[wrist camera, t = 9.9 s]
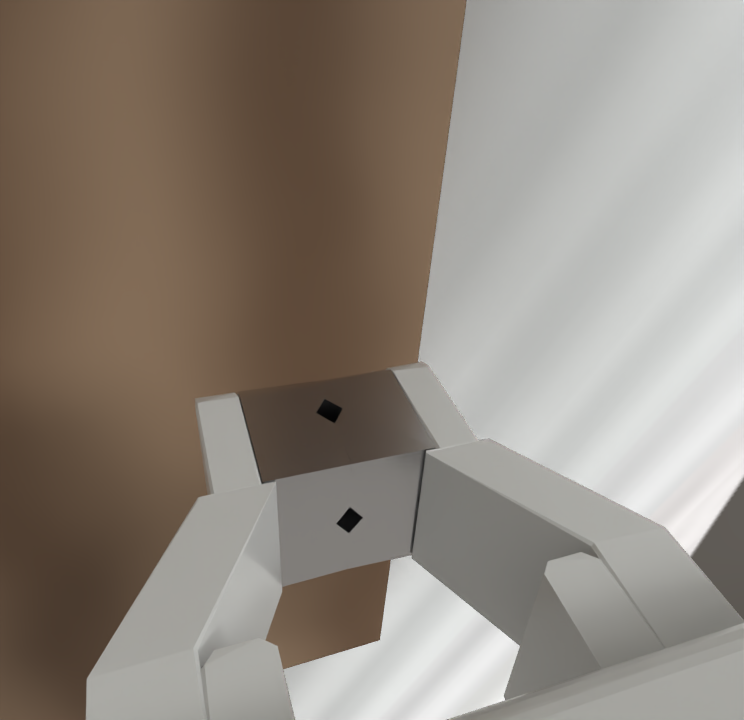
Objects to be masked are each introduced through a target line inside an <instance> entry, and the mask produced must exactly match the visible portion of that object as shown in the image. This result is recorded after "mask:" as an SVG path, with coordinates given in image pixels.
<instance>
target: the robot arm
mask: <svg viewBox="0 0 744 720" xmlns="http://www.w3.org/2000/svg"><path fill="white" fill-rule="evenodd" d="M195 410H196V417H197V424H198V431H199V438H200V445H201V452H202V459H203V466H204V473H205V480H206V487H207V495H206V496H201V497H198V498H197V500H196V501H195V503H194V504H193V506H192V508H191V509H190V511H189V513H188V514H187V516H186V518H185V519H184V521H183V522H182V524H181V526H180V527H179V529H178V531H177V532H176V534H175V536H174V537H173V539H172V540H171V542H170V544H169V545H168V547H167V549H166V550H165V552H164V553H163V555H162V557H161V558H160V560H159V562H158V563H157V565H156V567H155V568H154V570H153V571H152V573H151V575H150V576H149V578H148V580H147V581H146V583H145V585H144V586H143V588H142V589H141V591H140V593H139V594H138V596H137V598H136V599H135V601H134V602H133V604H132V606H131V607H130V609H129V611H128V612H127V614H126V616H125V617H124V619H123V620H122V622H121V624H120V625H119V627H118V629H117V630H116V632H115V634H114V635H113V637H112V638H111V640H110V642H109V643H108V645H107V647H106V648H105V650H104V652H103V653H102V655H101V656H100V658H99V660H98V661H97V663H96V665H95V666H94V668H93V669H92V671H91V673H90V674H89V676H88V678H87V687H86V720H295V717H294V712H293V708H292V704H291V700H290V696H289V692H288V688H287V683H286V679H285V675H284V671H283V667H282V663H281V658H280V654H279V650H278V646H276V645H274V644H272V643H270V642H268V641H265V640H266V637H267V634H268V631H269V628H270V625H271V622H272V620H273V617H274V614H275V611H276V608H277V605H278V602H279V599H280V596H281V594H282V587H284V586H287V585H291V584H295V583H298V582H302V581H305V580H309V579H313V578H316V577H320V576H324V575H327V574H331V573H335V572H338V571H342V570H345V569H350V568H354V567H359V566H363V565H368V564H373V563H377V562H382V561H386V560H391V559H396V558H400V557H405V556H409V555H412V559H413V560H415V561H416V562H417V563H418V564H419V565H421V566H422V567H423V568H424V569H426V570H427V571H428V572H429V573H431V574H432V575H433V576H434V577H436V578H437V579H438V580H439V581H441V582H442V583H443V584H444V585H445V586H447V587H448V588H449V589H450V590H452V591H453V592H454V593H455V594H457V595H458V596H459V597H460V598H462V599H463V600H464V601H465V602H466V603H468V604H469V605H470V606H471V607H473V608H474V609H475V610H476V611H478V612H479V613H480V614H481V615H483V616H484V617H485V618H486V619H487V620H489V621H490V622H491V623H492V624H494V625H495V626H496V627H497V628H499V629H500V630H501V631H502V632H504V633H505V634H506V635H507V636H508V637H510V638H511V639H512V640H513V641H515V642H516V643H517V644H518V645H520V648H519V651H518V654H517V657H516V660H515V663H514V666H513V669H512V672H511V675H510V678H509V681H508V684H507V687H506V691H505V694H504V698H505V701H502V702H499V703H496V704H493V705H490V706H487V707H484V708H481V709H478V710H475V711H471V712H468V713H465V714H462V715H459V716H456V717H453V718H450V719H447V720H744V620H743V619H742V618H741V617H740V615H739V614H738V613H737V612H736V611H735V610H734V608H733V607H732V606H731V605H730V604H729V602H728V601H727V600H726V599H725V598H724V596H723V595H722V594H721V593H720V592H719V591H718V589H717V588H716V587H715V586H714V585H713V583H712V582H711V581H710V580H709V579H708V577H707V576H706V575H705V574H704V573H703V572H702V570H701V569H700V568H699V567H698V566H697V564H696V563H695V562H694V561H693V560H692V559H691V557H690V556H689V555H688V554H687V553H686V551H685V550H684V549H683V548H682V547H681V546H680V544H679V543H678V542H677V541H676V540H675V538H674V537H673V536H672V535H671V534H670V532H669V531H668V530H667V529H666V528H665V527H663V526H661V525H659V524H657V523H655V522H653V521H651V520H649V519H647V518H645V517H643V516H642V515H640V514H638V513H636V512H634V511H632V510H630V509H628V508H626V507H624V506H622V505H620V504H618V503H616V502H614V501H612V500H610V499H608V498H606V497H604V496H602V495H600V494H598V493H596V492H594V491H592V490H590V489H588V488H586V487H584V486H582V485H580V484H578V483H576V482H574V481H572V480H570V479H568V478H566V477H564V476H562V475H560V474H558V473H556V472H554V471H552V470H550V469H548V468H546V467H544V466H542V465H540V464H539V463H537V462H535V461H533V460H531V459H529V458H527V457H525V456H523V455H521V454H519V453H517V452H515V451H513V450H511V449H509V448H507V447H505V446H503V445H501V444H499V443H497V442H495V441H493V440H491V439H484V440H478V439H477V437H476V436H475V434H474V433H473V431H472V430H471V428H470V427H469V425H468V424H467V422H466V421H465V419H464V418H463V416H462V415H461V413H460V412H459V410H458V409H457V407H456V406H455V404H454V403H453V401H452V400H451V398H450V397H449V395H448V394H447V392H446V391H445V389H444V388H443V386H442V385H441V383H440V382H439V380H438V379H437V377H436V376H435V374H434V373H433V371H432V370H431V368H430V367H429V365H427V364H425V363H424V362H417V363H412V364H407V365H401V366H396V367H391V368H387V369H386V370H379V371H373V372H367V373H361V374H356V375H350V376H344V377H338V378H332V379H326V380H320V381H311V382H304V383H297V384H290V385H282V386H275V387H268V388H261V389H254V390H246V391H239V392H237V394H236V393H228V394H222V395H215V396H208V397H201V398H195Z"/></svg>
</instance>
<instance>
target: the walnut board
mask: <svg viewBox="0 0 744 720" xmlns="http://www.w3.org/2000/svg"><path fill="white" fill-rule="evenodd" d="M466 1H467V0H0V720H86V687H87V678H88V676H89V674H90V673H91V671H92V669H93V668H94V666H95V665H96V663H97V661H98V660H99V658H100V656H101V655H102V653H103V652H104V650H105V648H106V647H107V645H108V643H109V642H110V640H111V638H112V637H113V635H114V634H115V632H116V630H117V629H118V627H119V625H120V624H121V622H122V620H123V619H124V617H125V616H126V614H127V612H128V611H129V609H130V607H131V606H132V604H133V602H134V601H135V599H136V598H137V596H138V594H139V593H140V591H141V589H142V588H143V586H144V585H145V583H146V581H147V580H148V578H149V576H150V575H151V573H152V571H153V570H154V568H155V567H156V565H157V563H158V562H159V560H160V558H161V557H162V555H163V553H164V552H165V550H166V549H167V547H168V545H169V544H170V542H171V540H172V539H173V537H174V536H175V534H176V532H177V531H178V529H179V527H180V526H181V524H182V522H183V521H184V519H185V518H186V516H187V514H188V513H189V511H190V509H191V508H192V506H193V504H194V503H195V501H196V500H197V498H198V497H201V496H206V495H207V487H206V480H205V473H204V466H203V459H202V452H201V445H200V438H199V431H198V424H197V417H196V410H195V398H201V397H208V396H215V395H222V394H228V393H236V394H237V392H239V391H246V390H254V389H261V388H268V387H275V386H282V385H290V384H297V383H304V382H311V381H320V380H326V379H332V378H338V377H344V376H350V375H356V374H361V373H367V372H373V371H379V370H386V369H387V368H391V367H396V366H401V365H407V364H412V363H417V362H418V354H419V347H420V340H421V332H422V325H423V317H424V310H425V303H426V295H427V288H428V281H429V273H430V266H431V259H432V251H433V244H434V236H435V229H436V222H437V214H438V207H439V200H440V192H441V185H442V177H443V170H444V163H445V155H446V148H447V141H448V133H449V126H450V119H451V111H452V104H453V96H454V89H455V82H456V74H457V67H458V60H459V52H460V45H461V37H462V30H463V23H464V15H465V8H466ZM390 561H391V560H386V561H382V562H377V563H373V564H368V565H363V566H359V567H354V568H350V569H345V570H342V571H338V572H335V573H331V574H327V575H324V576H320V577H316V578H313V579H309V580H305V581H302V582H298V583H295V584H291V585H287V586H284V587H282V594H281V596H280V599H279V602H278V605H277V608H276V611H275V614H274V617H273V620H272V622H271V625H270V628H269V631H268V634H267V637H266V640H265V641H268V642H270V643H272V644H274V645H276V646H278V650H279V654H280V658H281V663H282V667H283V669H285V668H289V667H292V666H295V665H299V664H302V663H305V662H309V661H312V660H315V659H319V658H322V657H325V656H329V655H332V654H335V653H339V652H342V651H345V650H348V649H352V648H355V647H358V646H362V645H365V644H368V643H372V642H375V641H378V640H380V634H381V627H382V620H383V612H384V605H385V598H386V590H387V583H388V575H389V568H390Z"/></svg>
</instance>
